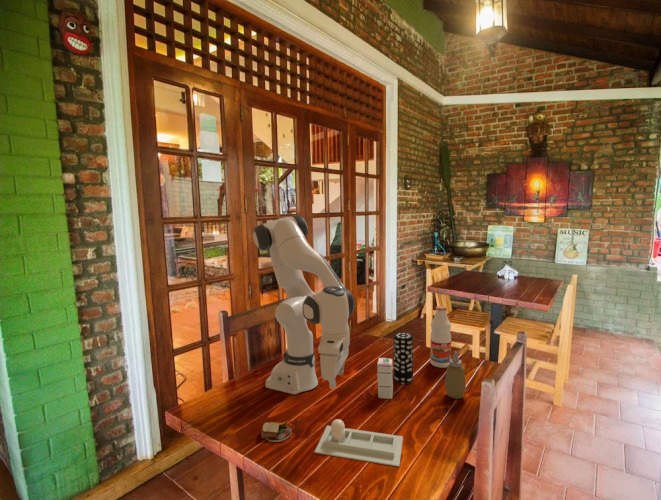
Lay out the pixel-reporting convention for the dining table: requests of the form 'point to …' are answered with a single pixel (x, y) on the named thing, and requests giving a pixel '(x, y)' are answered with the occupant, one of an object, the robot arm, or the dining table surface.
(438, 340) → the fruit juice
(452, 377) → the squeeze bottle
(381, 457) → the egg tray
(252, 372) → the dining table surface
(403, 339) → the white-spotted black cylinder
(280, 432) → the toy sandwich meal
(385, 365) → the syrup box
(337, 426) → the egg
